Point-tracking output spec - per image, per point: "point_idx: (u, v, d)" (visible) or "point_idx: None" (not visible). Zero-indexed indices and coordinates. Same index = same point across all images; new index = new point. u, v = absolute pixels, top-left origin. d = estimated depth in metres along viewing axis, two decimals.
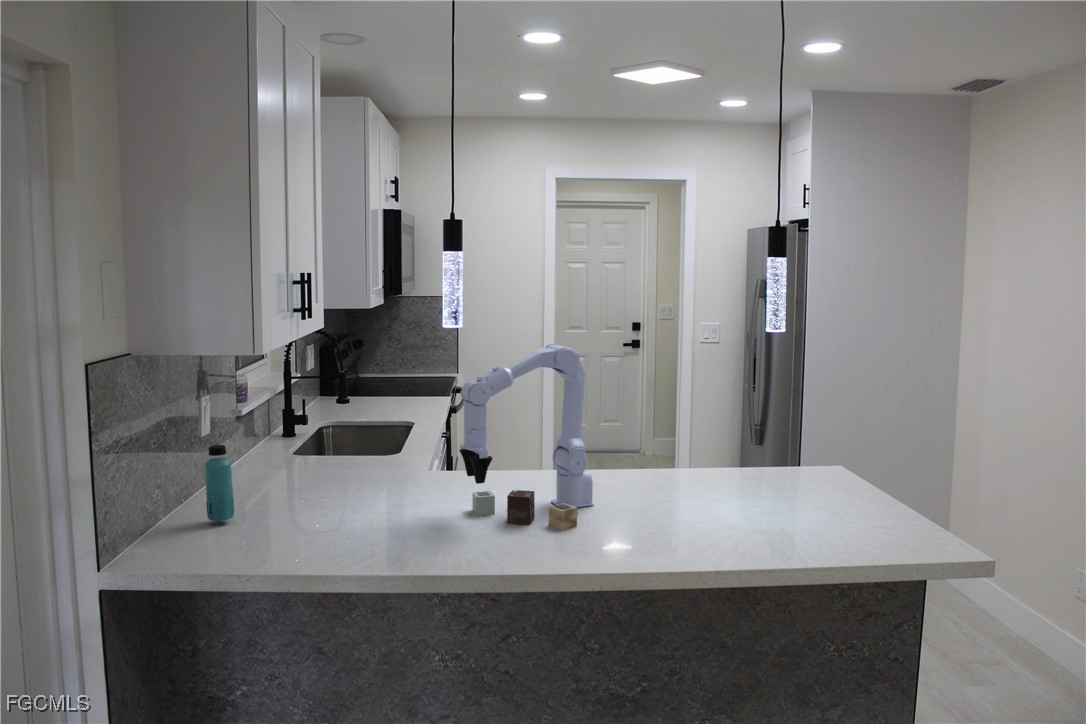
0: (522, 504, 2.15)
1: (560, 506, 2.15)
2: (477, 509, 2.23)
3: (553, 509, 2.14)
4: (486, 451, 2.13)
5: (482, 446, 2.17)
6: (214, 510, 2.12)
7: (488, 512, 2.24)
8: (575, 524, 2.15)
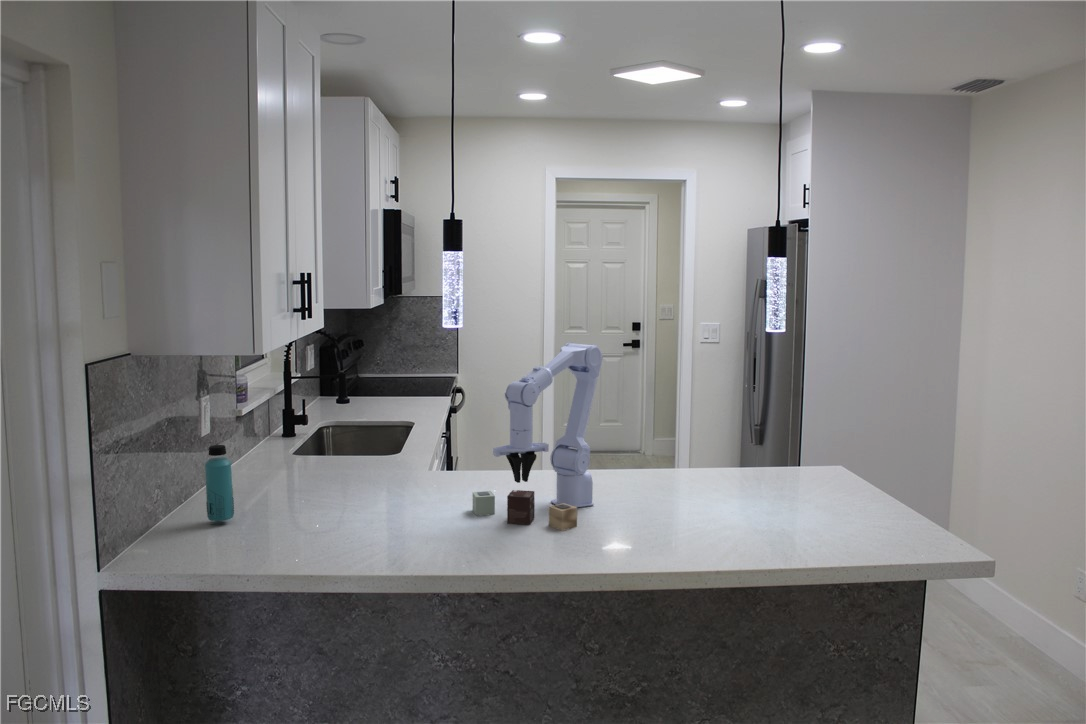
0: (522, 504, 2.15)
1: (560, 506, 2.15)
2: (477, 509, 2.23)
3: (553, 509, 2.14)
4: (495, 450, 2.13)
5: (512, 447, 2.15)
6: (214, 510, 2.12)
7: (488, 512, 2.24)
8: (575, 524, 2.15)
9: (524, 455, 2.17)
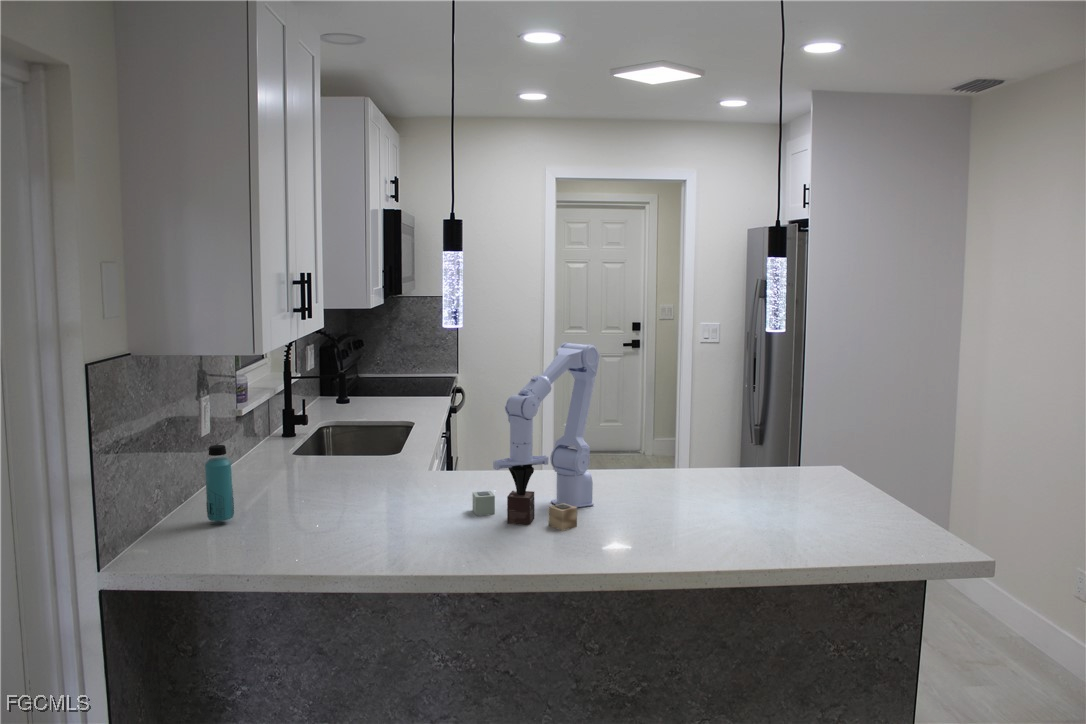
0: (522, 504, 2.15)
1: (560, 506, 2.15)
2: (477, 509, 2.23)
3: (553, 509, 2.14)
4: (495, 463, 2.13)
5: (512, 460, 2.15)
6: (214, 510, 2.12)
7: (488, 512, 2.24)
8: (575, 524, 2.15)
9: None
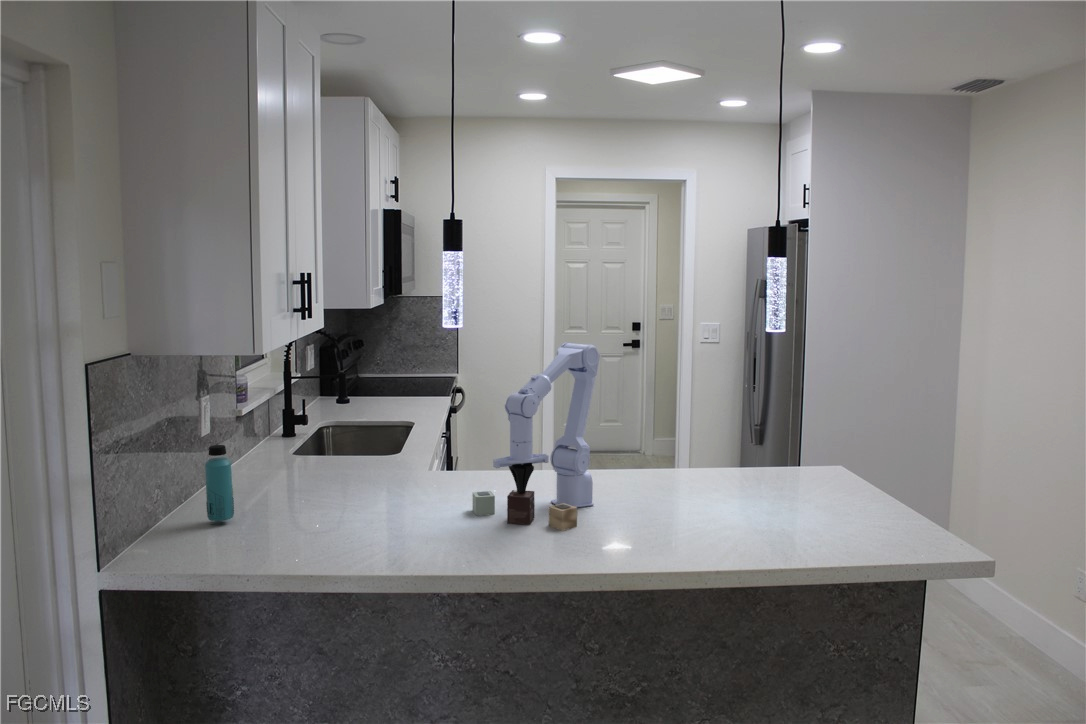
0: (522, 504, 2.15)
1: (560, 506, 2.15)
2: (477, 509, 2.23)
3: (553, 509, 2.14)
4: (495, 461, 2.13)
5: (512, 459, 2.15)
6: (214, 510, 2.12)
7: (488, 512, 2.24)
8: (575, 524, 2.15)
9: None
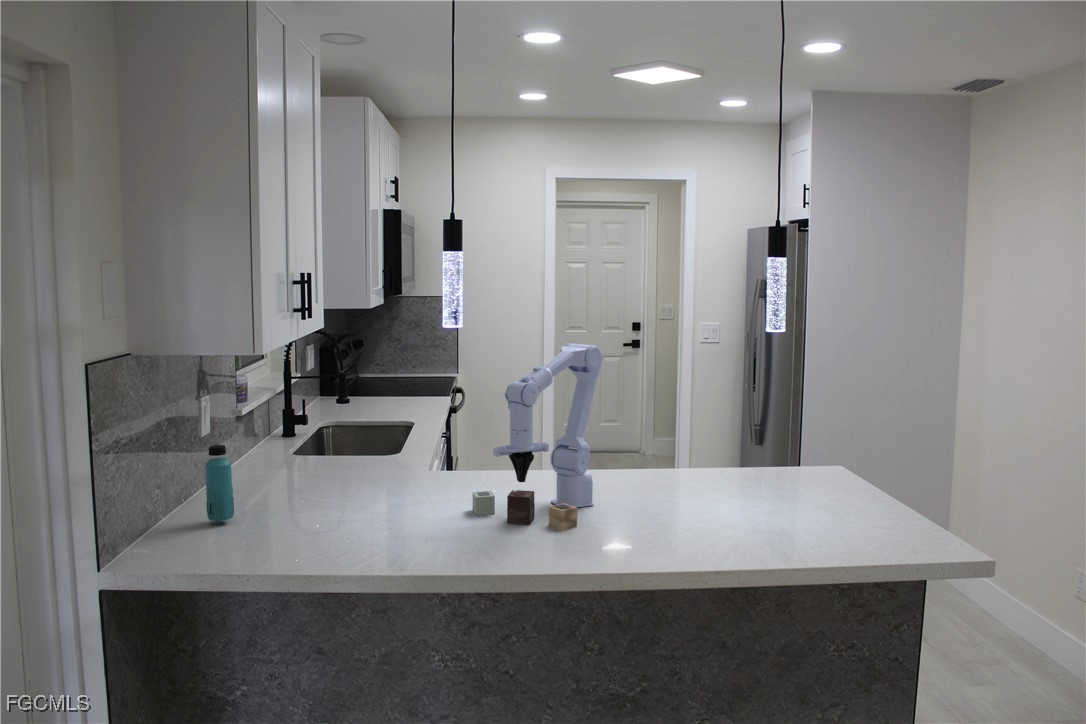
0: (522, 504, 2.15)
1: (560, 506, 2.15)
2: (477, 509, 2.23)
3: (553, 509, 2.14)
4: (495, 450, 2.13)
5: (512, 447, 2.15)
6: (214, 510, 2.12)
7: (488, 512, 2.24)
8: (575, 524, 2.15)
9: (521, 455, 2.17)
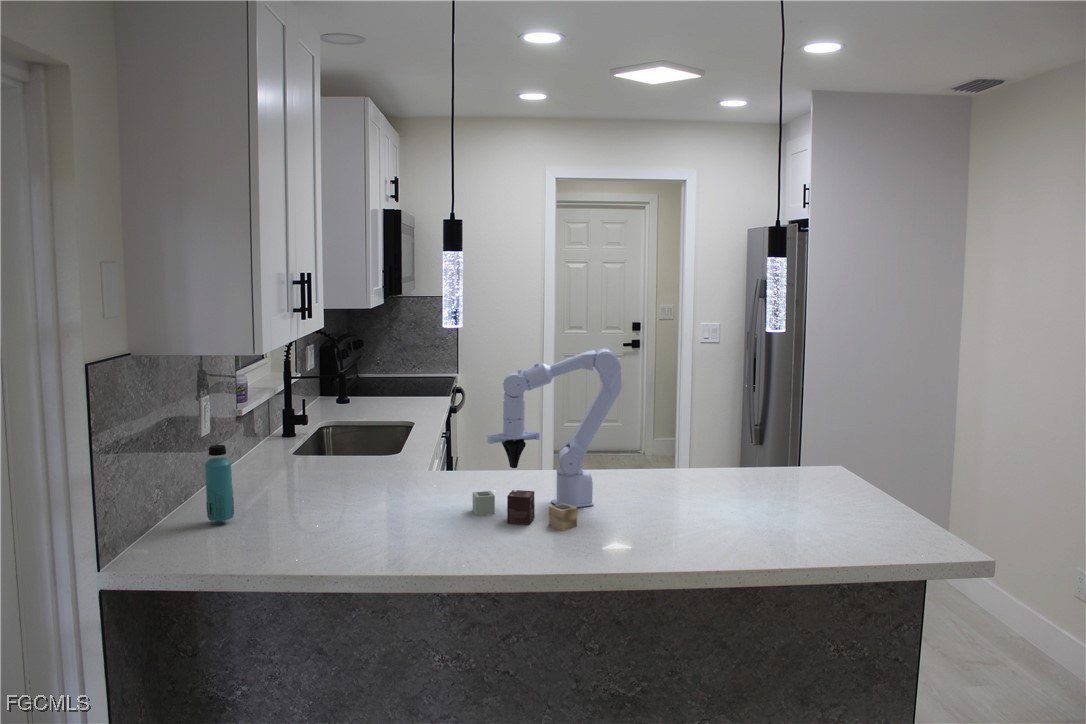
0: (522, 504, 2.15)
1: (560, 506, 2.15)
2: (477, 509, 2.23)
3: (553, 509, 2.14)
4: (489, 437, 2.27)
5: (505, 435, 2.29)
6: (214, 510, 2.12)
7: (488, 512, 2.24)
8: (575, 524, 2.15)
9: None
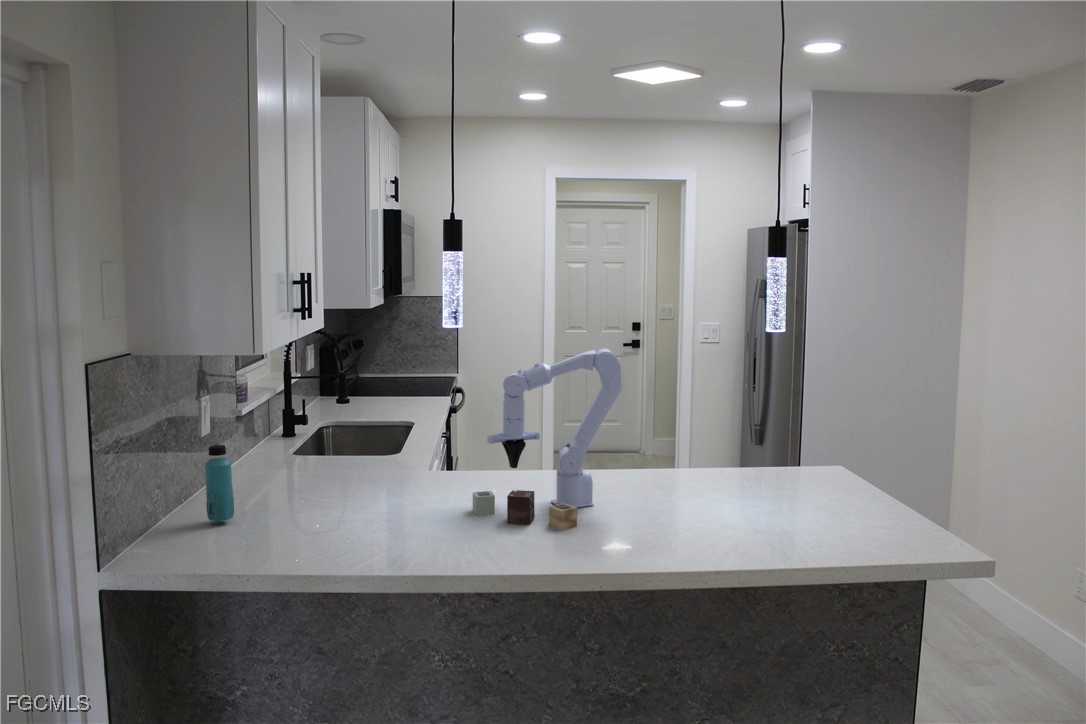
0: (522, 504, 2.15)
1: (560, 506, 2.15)
2: (477, 509, 2.23)
3: (553, 509, 2.14)
4: (489, 437, 2.27)
5: (505, 435, 2.29)
6: (214, 510, 2.12)
7: (488, 512, 2.24)
8: (575, 524, 2.15)
9: None
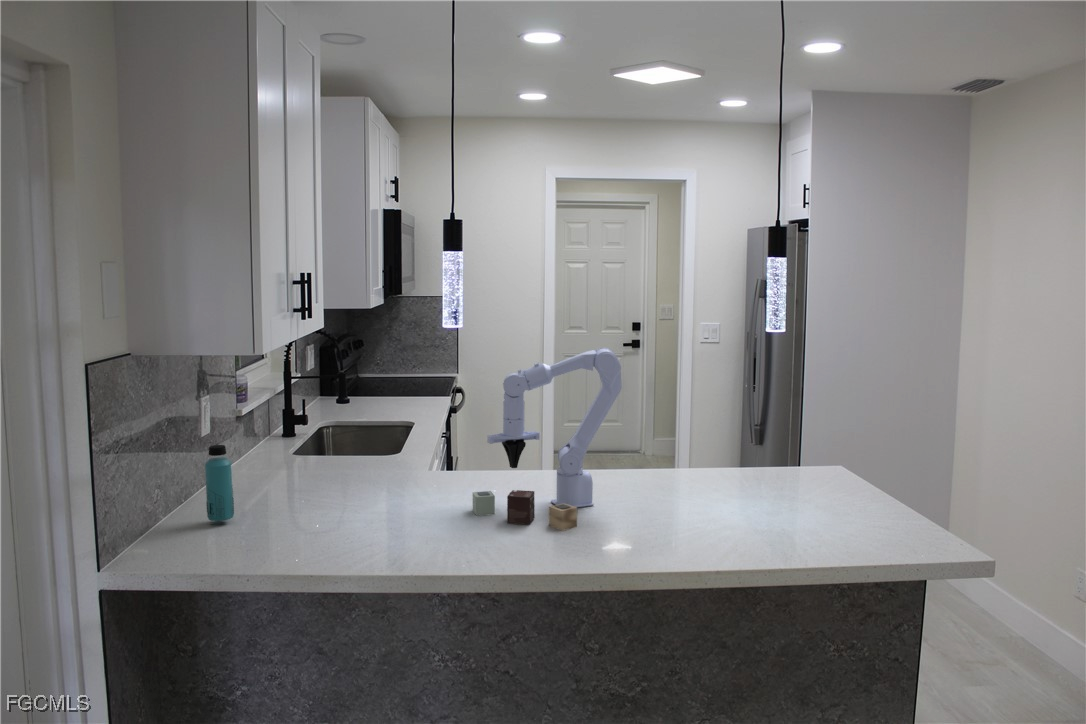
0: (522, 504, 2.15)
1: (560, 506, 2.15)
2: (477, 509, 2.23)
3: (553, 509, 2.14)
4: (489, 437, 2.27)
5: (505, 435, 2.29)
6: (214, 510, 2.12)
7: (488, 512, 2.24)
8: (575, 524, 2.15)
9: None
